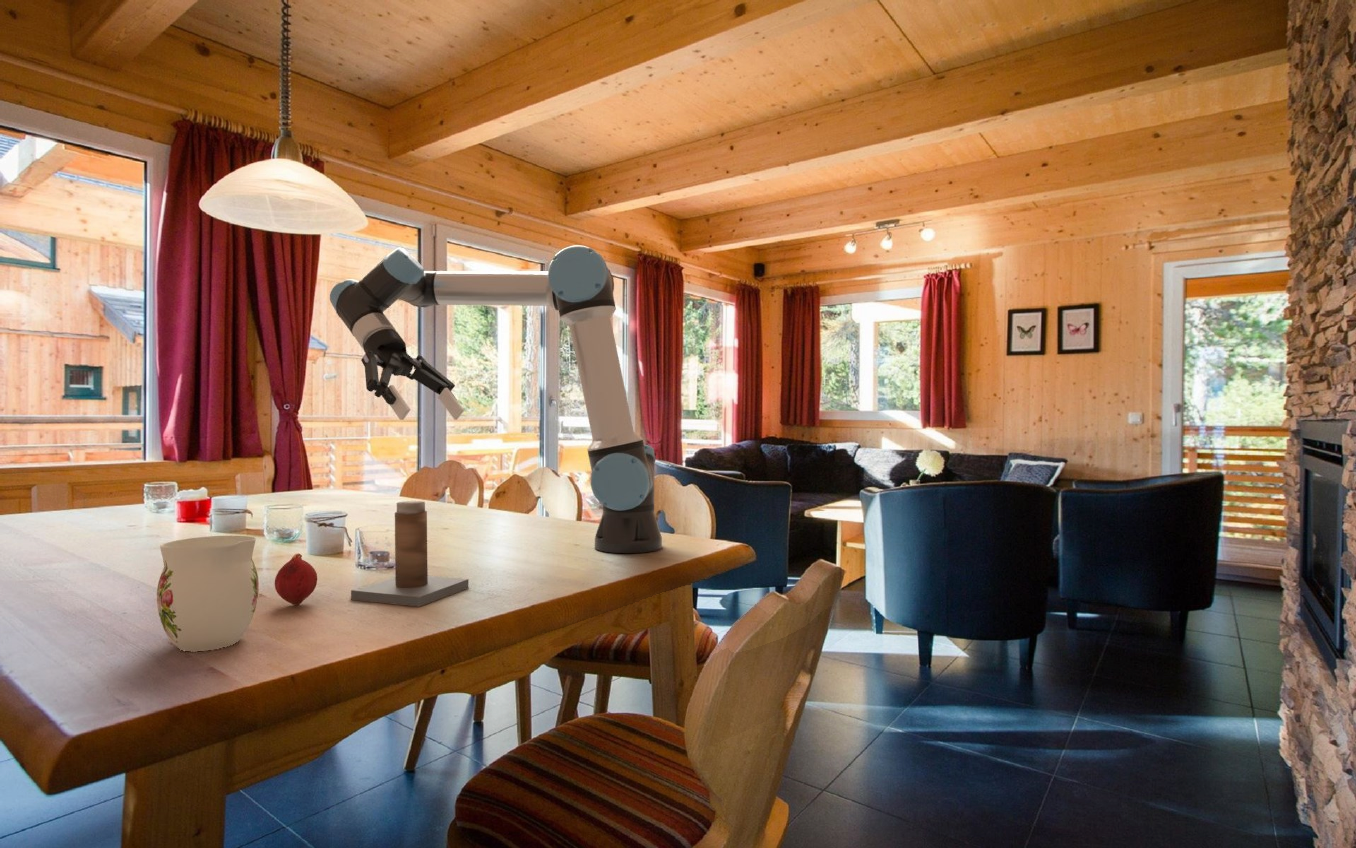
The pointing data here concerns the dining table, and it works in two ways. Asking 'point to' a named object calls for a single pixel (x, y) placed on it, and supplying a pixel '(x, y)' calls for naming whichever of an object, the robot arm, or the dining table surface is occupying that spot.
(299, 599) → the onion
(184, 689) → the dining table surface
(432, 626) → the dining table surface
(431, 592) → the slate board
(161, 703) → the dining table surface
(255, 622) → the dining table surface
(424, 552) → the pepper mill
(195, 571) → the pitcher
